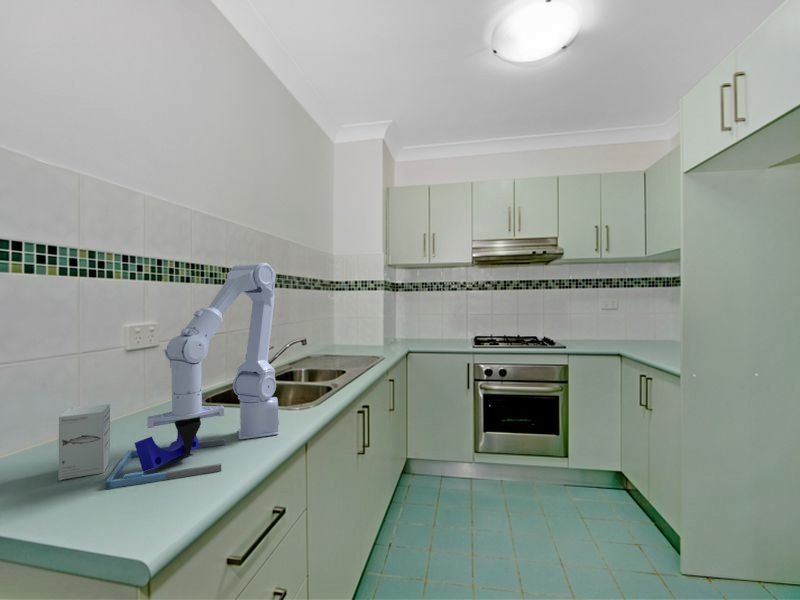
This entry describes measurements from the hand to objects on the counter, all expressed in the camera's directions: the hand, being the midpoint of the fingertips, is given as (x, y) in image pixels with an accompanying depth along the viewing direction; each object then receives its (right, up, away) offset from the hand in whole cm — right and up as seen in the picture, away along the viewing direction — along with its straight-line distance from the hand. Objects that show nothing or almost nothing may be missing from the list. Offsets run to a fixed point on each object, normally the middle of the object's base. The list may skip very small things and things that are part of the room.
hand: (187, 454), depth 85 cm
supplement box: (-19, -2, -4) cm, 19 cm away
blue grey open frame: (-3, -2, -1) cm, 3 cm away
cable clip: (-3, -1, -1) cm, 3 cm away
